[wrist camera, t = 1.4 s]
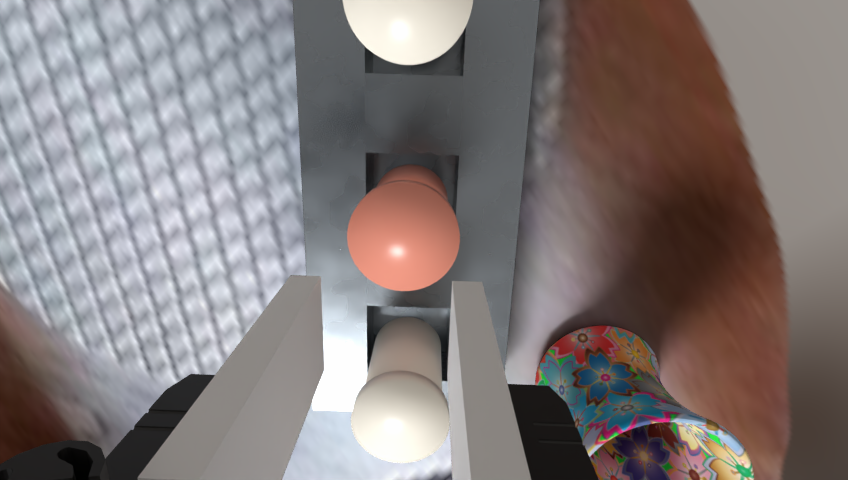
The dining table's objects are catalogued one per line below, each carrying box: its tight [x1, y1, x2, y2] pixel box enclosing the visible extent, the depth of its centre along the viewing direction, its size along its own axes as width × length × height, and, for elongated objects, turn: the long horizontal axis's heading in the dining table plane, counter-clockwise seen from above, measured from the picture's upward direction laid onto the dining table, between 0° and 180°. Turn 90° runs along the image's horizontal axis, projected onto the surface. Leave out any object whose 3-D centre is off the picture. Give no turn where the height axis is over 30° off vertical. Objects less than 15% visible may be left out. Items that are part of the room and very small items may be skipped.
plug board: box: [293, 0, 540, 411], centre depth 28 cm, size 12×28×4 cm, turn 178°
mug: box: [535, 326, 754, 480], centre depth 29 cm, size 12×9×11 cm
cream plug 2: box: [351, 317, 450, 463], centre depth 25 cm, size 5×5×7 cm
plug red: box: [347, 164, 460, 291], centre depth 23 cm, size 5×5×7 cm
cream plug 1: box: [343, 0, 473, 65], centre depth 20 cm, size 5×5×7 cm
